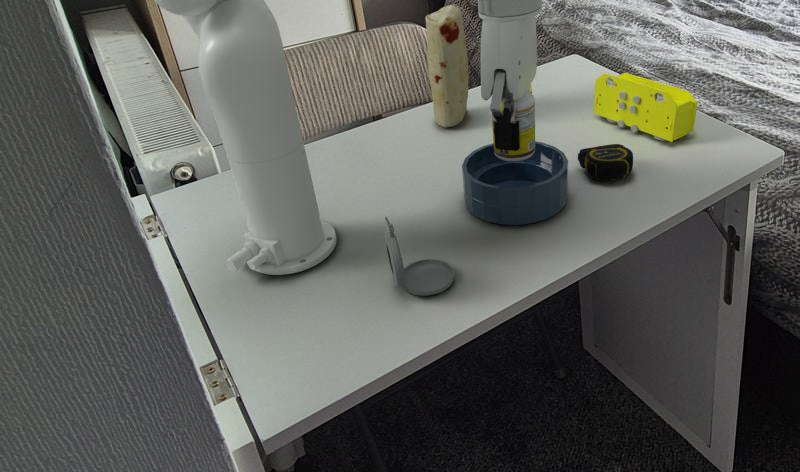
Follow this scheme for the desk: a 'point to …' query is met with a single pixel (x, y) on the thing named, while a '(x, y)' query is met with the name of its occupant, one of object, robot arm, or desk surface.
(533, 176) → the blue faceted bowl
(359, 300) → the desk surface
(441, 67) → the food model
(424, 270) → the pocket watch
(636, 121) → the yellow toy chassis
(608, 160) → the tape measure
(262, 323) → the desk surface
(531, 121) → the supplement bottle
